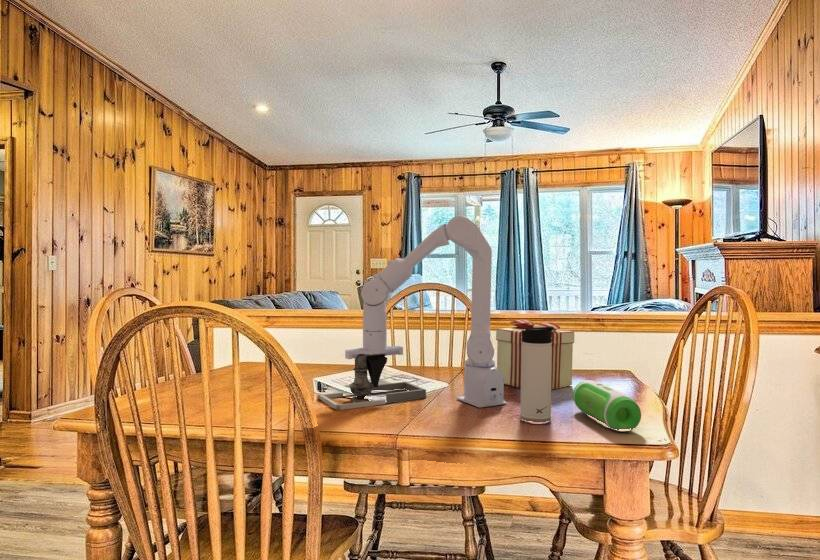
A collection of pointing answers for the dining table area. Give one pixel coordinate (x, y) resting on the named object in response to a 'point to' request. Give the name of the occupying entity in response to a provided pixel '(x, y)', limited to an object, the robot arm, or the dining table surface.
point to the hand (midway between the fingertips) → (374, 386)
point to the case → (412, 394)
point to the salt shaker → (360, 380)
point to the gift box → (511, 353)
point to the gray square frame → (350, 405)
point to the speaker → (607, 405)
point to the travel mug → (536, 374)
